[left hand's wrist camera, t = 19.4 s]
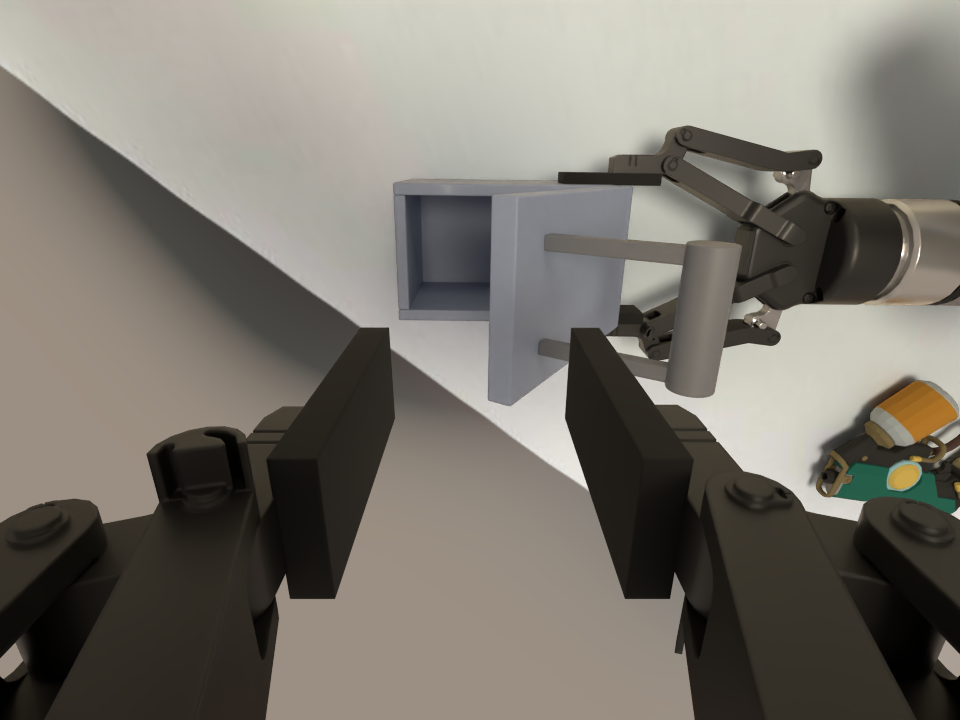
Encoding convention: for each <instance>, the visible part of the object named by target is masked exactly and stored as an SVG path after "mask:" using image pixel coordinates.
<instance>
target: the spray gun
mask: <svg viewBox="0 0 960 720" xmlns="http://www.w3.org/2000/svg"><path fill="white" fill-rule="evenodd" d="M958 416H959V409H958V405H957V403H956V402H955V400H954V399H953V398H952V397H951V396H950V395H949V394H948V393H947V392H946V391H945V390H943V389H942V388H941V387H939V386H938V385H937V384H935V383H933V382H930V381H922V380H917V381H914V382H913V383H911V384H910V385H908V386H907V387H905V388H903V389H902V390H900V391H899V392H897V393H896V394H894V395H893V396H891V397H890V398H888V399H887V400H885V401H884V402H882V403H881V404H879V405H878V406H876V407H875V408H874V409H873V411H872V412H871V414H870V421H868V422H866V423H865V425H864V427H865V430H866V434H863V435H861V436H859V437H857V438H855V439H853V440H852V441H850V442H848V443H846V444H844V445H843V446H841V447H839V448H837V449H835V451H834V450H832V451H831V452H829V455H830V456H831V458H830V460H829V462H828V463H827V465H826V467H825V469H824V470H823V472H822V474H821V476H820V478H819V479H818V481H817V484H816V489H817V491H818V492H819V493H820V494H821V495H822V496H824V497H831V496H832V497H838V498H844V499H851V500H858V501H868V500H870V499H871V498H877V497H885V496H887V497H896V498H908V499H913V500H916V501H917V502H919V501H921V502H924V503H927V504H930V505H932V506H934V507H935V508H937V509H939V510H942V511H944V512H947V513H949V514H952V513H953V512H955V511H956V510H957V509H958V508H959V507H960V457H959V458H957V459H956V460H955V461H953V463H952V464H951V463H948V462H947V461H944V462H943V465H942V466H941V467H940V468H939V469H937V470H935V471H931V472H930V471H929V470H928V463H934V462H937V461H939V460H940V459H941V458H942V457H944V455H945V453H947V452H949V451H951V450H953V449H955V448H956V447H958V446H959V445H960V434H959V435H958V436H957V437H956V438H954V439H953V440H951V441H950V442H948V443H946V444H944V443H942V442H941V441H940V440H939V439H937V438H935V437H933V436H931V435H930V434H931V433H933V432H935V431H936V430H938V429H940V428H941V427H943V426H945V425H947V424H948V423H950V422H952V421H953V420H955V419H956V418H957V417H958ZM921 439H922V441H921V442H920V443H916V442H918V441H919V440H921ZM928 441H932V442H934V443H935V444H936V445H938V446H939V447H936V448H931V447H930V446H928V445H927V443H928ZM877 445H880V446H877ZM930 455H935V456H934V457H932V458H928V457H929V456H930ZM835 460H837V461H835ZM834 461H835V464H836V465H837V466H835V465H833V463H834ZM823 481H824V482H825V483H826V491H827V494H826V493H825V492H824V491H823V490H822V487H821V485H822V483H823Z"/></svg>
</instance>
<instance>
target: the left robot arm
mask: <svg viewBox="0 0 960 720" xmlns="http://www.w3.org/2000/svg"><path fill="white" fill-rule="evenodd" d="M394 419H395V412H394V397H393V382H392V367H391V352H390V337H389V328H360V329H359V331H358V332H357V334H356V335H355V336H354V338H353V339H352V341H351V342H350V343H349V345H348V346H347V347H346V349H345V350H344V352H343V353H342V354H341V356H340V357H339V359H338V360H337V361H336V363H335V364H334V366H333V367H332V368H331V370H330V371H329V373H328V374H327V375H326V377H325V378H324V380H323V381H322V382H321V384H320V385H319V386H318V388H317V389H316V391H315V392H314V393H313V395H312V396H311V398H310V399H309V400H308V402H307V403H306V404H305V406H304V407H281V408H280V409H278V410H276V411H275V412H273V413H271V414H269V415H268V416H266V417H264V418H263V420H262V421H261V422H260V423H259V424H258V425H257V427H256V428H255V429H254V430H253V433H251V434H250V435H249V436H248V437H247V439H246V436H245V434H244V433H242V432H241V431H240V430H238V429H235V428H230V427H225V426H221V427H204V428H199V429H193V430H189V431H186V432H183V433H180V434H177V435H174V436H171V437H169V438H167V439H166V440H164V441H162V442H160V443H158V444H156V445H155V446H154V447H153V448H152V449H151V450H150V451H149V452H148V453H147V458H148V461H149V465H150V469H151V472H152V476H153V480H154V484H155V487H156V491H157V495H158V499H159V504H158V506H157V508H156V510H155V512H154V513H153V514H150V515H146V516H142V517H136V518H131V519H126V520H121V521H115V522H110V523H105V524H103V523H102V520H101V517H100V514H99V510H98V507H97V506H96V505H94V504H93V503H92V502H90V501H87V500H80V499H69V500H60V501H51V502H46V503H45V504H39V505H35V506H32V507H30V508H28V509H27V510H25V511H23V512H20V513H18V514H16V515H13V516H11V517H9V518H8V519H6V520H5V521H3V522H1V523H0V658H1V657H2V656H3V655H4V654H5V653H6V652H7V651H8V650H9V649H10V647H11V646H12V645H13V644H14V643H16V645H17V647H18V649H19V652H20V654H21V656H22V659H23V662H22V663H21V664H20V665H19V666H18V667H17V668H16V669H15V671H14V672H12V673H11V674H10V675H8V676H7V677H6V678H5V679H3V678H1V677H0V720H265V719H266V711H267V704H268V696H269V689H270V681H271V673H272V666H273V659H274V651H275V644H276V636H277V629H278V621H279V616H278V608H277V603H276V597H275V595H276V593H277V591H278V589H279V586H280V584H281V582H282V580H283V578H284V576H285V574H286V578H287V584H288V589H289V595H290V599H335V597H336V594H337V591H338V588H339V585H340V582H341V579H342V576H343V573H344V570H345V567H346V564H347V561H348V558H349V555H350V552H351V549H352V546H353V543H354V540H355V537H356V534H357V531H358V528H359V525H360V522H361V519H362V516H363V513H364V510H365V507H366V504H367V501H368V498H369V495H370V492H371V489H372V486H373V483H374V480H375V477H376V474H377V471H378V468H379V465H380V462H381V459H382V456H383V453H384V450H385V447H386V443H387V441H388V437H389V434H390V431H391V428H392V425H393V422H394ZM565 419H566V422H567V425H568V429H569V432H570V435H571V438H572V441H573V444H574V447H575V450H576V453H577V456H578V459H579V462H580V465H581V468H582V471H583V474H584V477H585V480H586V483H587V486H588V489H589V492H590V495H591V498H592V501H593V504H594V507H595V510H596V513H597V516H598V519H599V522H600V525H601V528H602V531H603V534H604V537H605V540H606V543H607V546H608V549H609V552H610V555H611V558H612V561H613V564H614V567H615V570H616V573H617V576H618V579H619V582H620V585H621V588H622V591H623V594H624V597H625V599H670V595H671V589H672V584H673V578H674V572H675V573H676V575H677V577H678V579H679V581H680V584H681V586H682V588H683V590H684V592H685V597H684V602H683V608H682V613H681V619H680V624H679V630H678V635H677V640H676V647H675V653H678V654H682V651H683V646H684V643H685V650H686V657H687V665H688V672H689V680H690V687H691V695H692V702H693V710H694V717H695V720H960V676H959V677H956V676H955V675H953V674H952V673H951V672H950V671H949V670H948V669H947V668H946V667H945V666H944V665H943V664H942V663H941V662H940V661H939V660H938V656H939V654H940V652H941V650H942V647H943V645H944V643H945V640H947V641H948V642H949V643H950V644H951V645H952V646H953V647H954V648H955V650H956V651H957V652H958V653H959V654H960V520H959V519H957V518H956V517H954V516H952V515H951V514H949V513H947V512H944V511H942V510H939V509H937V508H935V507H934V506H932V505H930V504H927V503H924V502H921V501H919V502H917V501H916V500H913V499H908V498H896V497H887V496H885V497H877V498H871V499H870V500H868V501H867V502H866V503H864V504H863V507H862V510H861V514H860V517H859V520H858V522H857V521H852V520H847V519H842V518H836V517H831V516H826V515H821V514H815V513H811V512H807V511H805V509H804V507H803V505H802V503H801V501H800V500H799V499H798V498H797V497H796V496H795V494H794V493H793V492H792V491H791V490H789V489H788V488H786V487H784V486H783V485H781V484H780V483H778V482H776V481H774V480H771V479H769V478H766V477H764V476H761V475H758V474H753V473H749V472H744V471H743V470H742V469H741V468H740V467H739V466H738V464H737V463H736V462H735V461H734V460H733V459H732V457H731V456H730V455H729V454H728V453H727V451H726V450H725V449H724V448H723V447H722V446H721V444H720V443H719V442H716V439H715V437H714V436H713V435H712V434H711V433H710V431H707V428H706V427H705V426H704V424H703V423H702V422H701V421H700V420H699V419H698V417H697V416H696V415H694V414H692V413H690V412H689V411H687V410H685V409H684V408H682V407H680V406H678V405H655V404H654V403H653V402H652V400H651V399H650V398H649V396H648V395H647V393H646V392H645V391H644V389H643V388H642V386H641V385H640V384H639V382H638V381H637V379H636V378H635V377H634V375H633V374H632V372H631V371H630V370H629V368H628V367H627V366H626V364H625V363H624V361H623V360H622V359H621V357H620V356H619V354H618V353H617V352H616V350H615V349H614V347H613V346H612V345H611V343H610V342H609V341H608V339H607V338H606V336H605V335H604V334H603V332H602V331H601V329H600V328H571V337H570V352H569V367H568V382H567V397H566V412H565Z"/></svg>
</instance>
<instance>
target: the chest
mask: <svg viewBox="0 0 960 720" xmlns="http://www.w3.org/2000/svg"><path fill="white" fill-rule="evenodd" d="M608 186H618V185H601V184H561V183H558V181H525V180H451V179H411V180H406V181H401V182H396V183H393V191H394V213H395V235H396V258H397V281H398V303H399V320H454V321H489V315H490V265H491V215H492V196H493V195H500V194H514V193H527V192H541V191H554V190H568V189H581V188H595V187H608Z"/></svg>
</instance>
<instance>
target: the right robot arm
mask: <svg viewBox="0 0 960 720" xmlns="http://www.w3.org/2000/svg"><path fill="white" fill-rule="evenodd" d="M665 140H666V141H665V143H664V145H663V147H662V149H661V150H660V151H659V152H658V153H657V154H655V155H616V156H613V157H611V158H609V168H608V173H597V172H559V173H558V183H561V184H601V185H643V186H661V178H662V177H663V178H665V179H667V180H669V181H670V182H672V183H674V184H675V185H677V186H679V187H680V188H682V189H684V190H686V191H687V192H689V193H691V194H692V195H694V196H696V197H697V198H699V199H701V200H703V201H704V202H706V203H708V204H709V205H711V206H713V207H715V208H716V209H718V210H720V211H721V212H723V213H725V214H726V215H727V216H728V217H730V218H731V219H733V220H735V221H736V222H738V223H740V224H742V225H741V227H740V228H737V230H736V235H735V244H739V245H741V246H742V250H741V255H740V261H739V266H738V271H737V276H736V282H735V287H734V292H733V298H732V303H740V302H743V301H746V300H748V299H751V298H753V297H755V298H756V299H757V300H759V301H760V302H761V303H762V304H763V307H762V309H761V310H760V311H758V312H754V313H750V314H746V315H745V316H744V319H731V320H728V324H727V329H726V334H725V340H724V345H723V348H725V347H730V346H736V345H741V344H746V343H753V344H760V345H768V346H773V345H776V344H777V343H778V342H779V341H780V339H781V335H780V333H779V332H778V331H776V330H775V329H776V326H777V324H778V321H779V318H780V315H781V312H782V310H786V309H788V308H790V307H793V306H795V305H799V304H839V305H857V304H862V303H863V304H866V305H953V306H960V201H956V200H942V199H882V200H879V199H871V198H821V197H819V196H817V195H816V194H814V193H813V192H810V183H811V174H812V169H814V168H816V167H818V166H819V165H820V163H821V161H822V154H821V152H820V151H818V150H800V151H787V152H783V151H780V150H776V149H772V148H769V147H765V146H761V145H758V144H754V143H751V142H747V141H743V140H740V139H736V138H732V137H729V136H725V135H722V134H718V133H714V132H711V131H707V130H703V129H700V128H696V127H693V126H683V127H677V128H673V129H670V130H669V131H668V132H667V134H666V137H665ZM686 151H689V152H692V153H696V154H700V155H703V156H707V157H711V158H714V159H718V160H722V161H725V162H729V163H733V164H737V165H740V166H744V167H748V168H751V169H755V170H760V171H774V173H773V176H774V178H775V180H776V181H777V182H779V183H784V184H785V185H786V186H787V188H788V192H787V193H785V194H783V195H782V196H780V197H779V198H777V199H776V200H774V201H772V202H771V203H769V204H768V205H766V206H765V207H764V206H763V205H761V204H759V203H756V202H754V201H752V200H750V199H748V198H747V197H745V196H743V195H741V194H740V193H738V192H736V191H735V190H733V189H731V188H730V187H728V186H726V185H725V184H723V183H721V182H720V181H718V180H716V179H715V178H713V177H711V176H710V175H708V174H706V173H705V172H703V171H701V170H700V169H698V168H696V167H695V166H693V165H691V164H690V163H688V162H686V161H685V160H683V157H684V155H685V153H686ZM677 302H678V298H676V299H674V300H671V301H669V302H667V303H665V304H662V305H660V306H658V307H656V308H653V309H651V310H649V311H647V312H645V313H642V312H641V311H640V310H638V309H637V308H636V307H635V306H634V305H620V309H619V318H618V326H617V327H616V328H615V329H613V330H612V331H611V332H609V333H608V334H607V335H605V336H634V337H638V339H639V347H640V349H641V350H642V351H643V352H644V353H645V354H646V356H647V357H648V358H649V359H653V360H658V361H659V360H664V359H669V354H670V348H671V341H672V335H673V331H670V330H672V329H673V328H674V321H675V315H676V308H677ZM732 303H731V304H732ZM668 331H670V332H668Z"/></svg>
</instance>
